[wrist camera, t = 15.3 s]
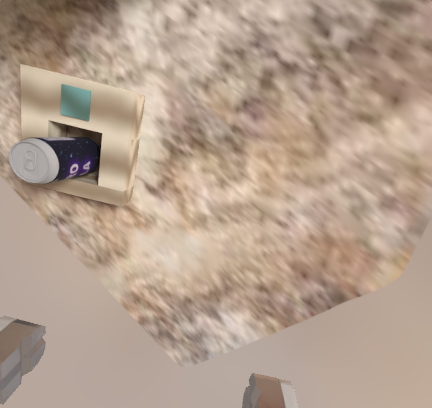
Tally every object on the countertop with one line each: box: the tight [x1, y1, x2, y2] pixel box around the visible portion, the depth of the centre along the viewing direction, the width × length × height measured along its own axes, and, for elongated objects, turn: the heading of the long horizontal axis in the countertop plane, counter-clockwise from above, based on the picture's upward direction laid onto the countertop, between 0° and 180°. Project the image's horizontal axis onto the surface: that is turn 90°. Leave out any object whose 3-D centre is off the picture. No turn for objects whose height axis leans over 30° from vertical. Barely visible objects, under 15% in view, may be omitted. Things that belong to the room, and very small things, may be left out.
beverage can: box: [9, 137, 101, 184], centre depth 32 cm, size 6×6×12 cm
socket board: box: [20, 64, 145, 206], centre depth 35 cm, size 17×16×4 cm
